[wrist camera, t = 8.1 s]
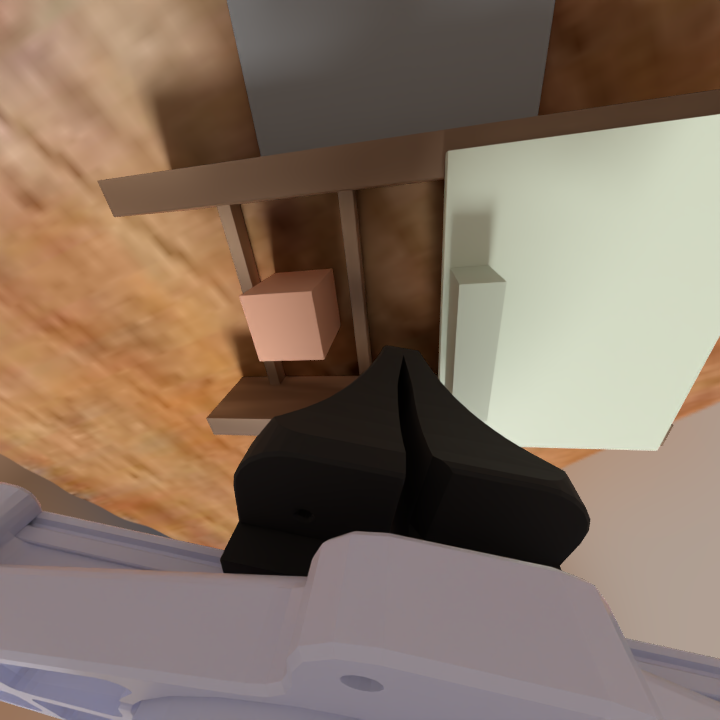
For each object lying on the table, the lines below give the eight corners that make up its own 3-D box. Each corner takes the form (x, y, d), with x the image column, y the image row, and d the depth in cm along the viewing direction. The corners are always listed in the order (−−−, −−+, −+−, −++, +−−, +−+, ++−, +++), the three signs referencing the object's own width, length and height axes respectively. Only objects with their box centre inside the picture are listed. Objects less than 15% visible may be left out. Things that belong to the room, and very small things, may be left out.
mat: (533, 127, 14) (536, 125, 14) (265, 164, 17) (262, 164, 16) (582, -206, 10) (588, -220, 10) (210, -91, 12) (205, -99, 12)
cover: (646, 439, 16) (698, 493, 13) (436, 434, 18) (441, 481, 15) (815, 103, 9) (1001, 64, 6) (445, 153, 11) (459, 140, 8)
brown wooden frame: (607, 390, 21) (662, 445, 16) (247, 391, 25) (213, 434, 21) (713, 108, 13) (870, 67, 9) (174, 182, 18) (97, 180, 13)
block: (341, 325, 21) (324, 359, 17) (288, 327, 22) (259, 361, 18) (332, 268, 19) (311, 291, 15) (275, 272, 20) (239, 296, 16)
